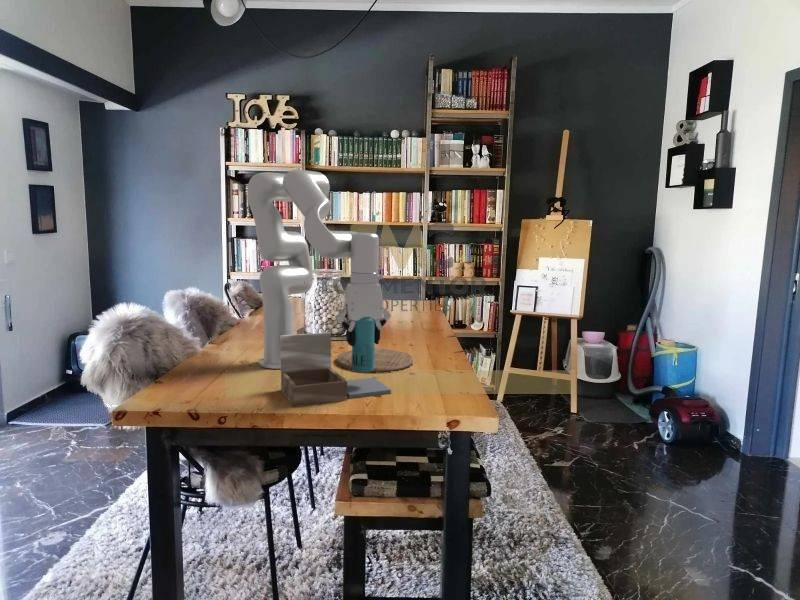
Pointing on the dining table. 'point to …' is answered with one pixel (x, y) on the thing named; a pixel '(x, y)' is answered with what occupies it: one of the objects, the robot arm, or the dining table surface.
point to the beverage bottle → (363, 345)
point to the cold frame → (310, 370)
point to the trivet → (380, 360)
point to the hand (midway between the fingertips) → (363, 343)
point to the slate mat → (366, 388)
